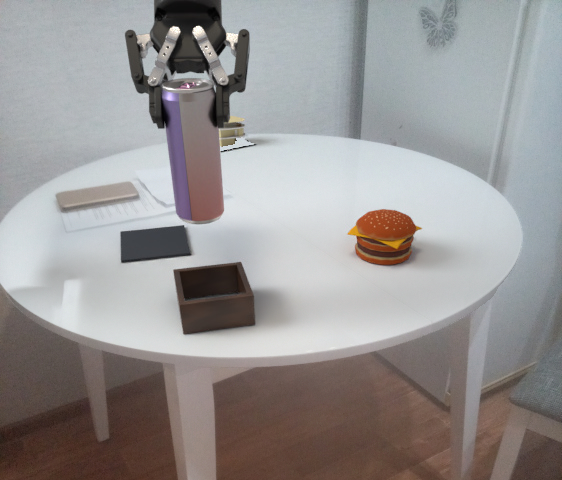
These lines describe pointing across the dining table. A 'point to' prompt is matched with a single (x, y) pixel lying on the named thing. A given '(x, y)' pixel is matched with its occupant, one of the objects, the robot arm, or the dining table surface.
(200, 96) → the beverage can
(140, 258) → the mat
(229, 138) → the stacked layers on plate
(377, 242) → the hamburger
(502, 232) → the dining table surface
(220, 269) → the box
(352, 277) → the dining table surface
